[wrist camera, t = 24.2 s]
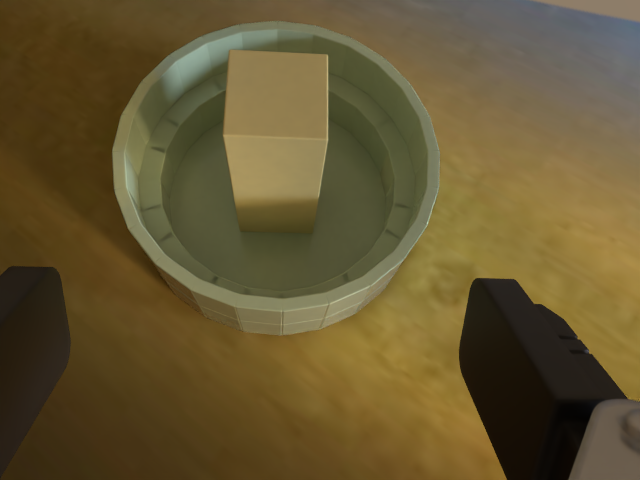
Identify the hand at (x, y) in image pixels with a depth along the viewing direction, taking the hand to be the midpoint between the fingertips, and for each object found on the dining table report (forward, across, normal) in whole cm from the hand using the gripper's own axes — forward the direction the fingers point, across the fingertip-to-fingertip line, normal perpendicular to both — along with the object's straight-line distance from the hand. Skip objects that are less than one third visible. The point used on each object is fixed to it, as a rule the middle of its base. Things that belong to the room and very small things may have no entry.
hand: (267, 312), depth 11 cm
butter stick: (+20, 0, +5) cm, 20 cm away
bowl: (+20, 0, +5) cm, 21 cm away
